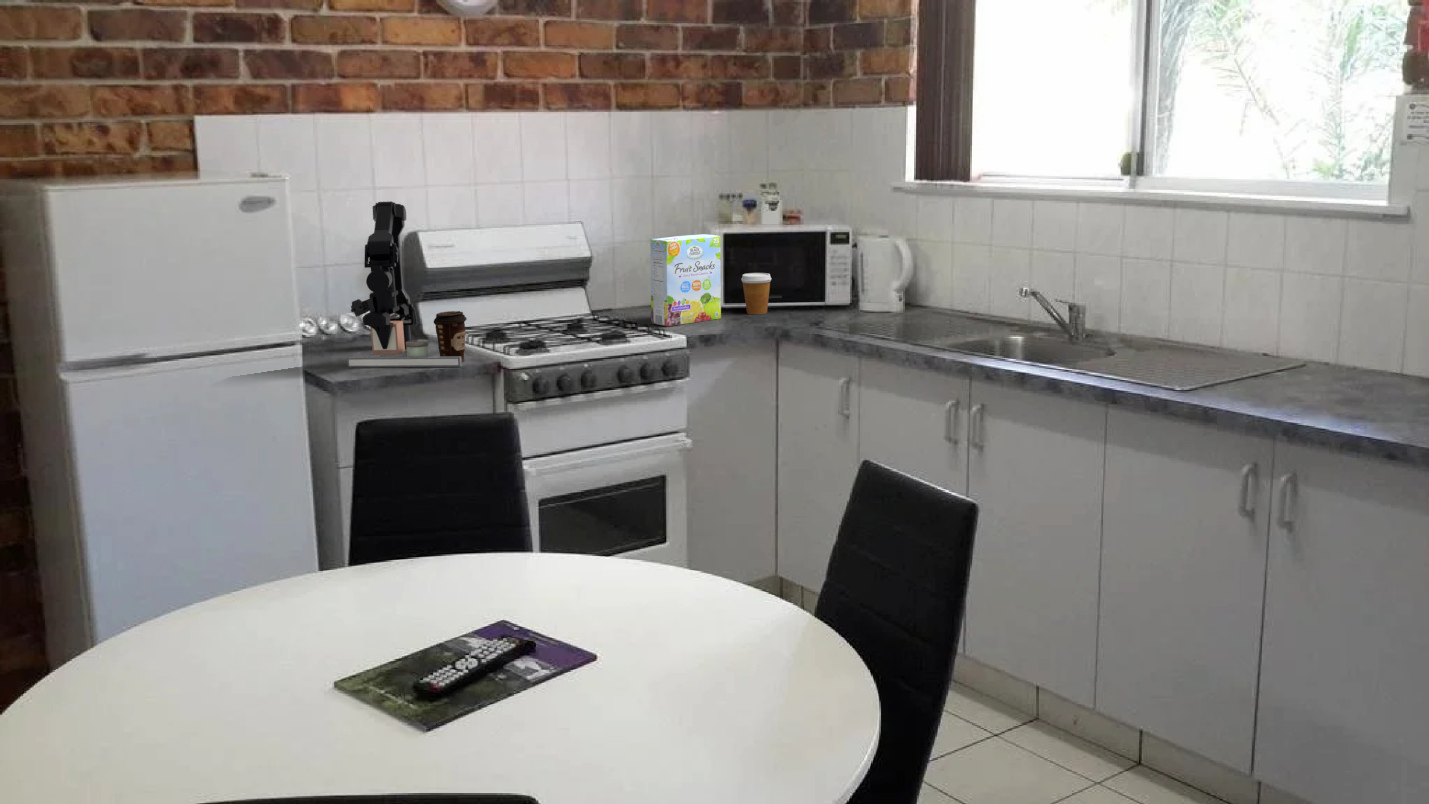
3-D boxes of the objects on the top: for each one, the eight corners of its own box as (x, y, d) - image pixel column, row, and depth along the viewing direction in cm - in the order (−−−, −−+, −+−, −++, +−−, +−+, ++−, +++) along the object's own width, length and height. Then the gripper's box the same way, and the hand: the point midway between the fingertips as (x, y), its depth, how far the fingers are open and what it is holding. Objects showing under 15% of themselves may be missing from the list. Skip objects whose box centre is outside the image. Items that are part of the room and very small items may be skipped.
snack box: (668, 327, 400) (665, 240, 394) (650, 324, 406) (647, 238, 401) (723, 318, 414) (721, 234, 408) (704, 315, 420) (702, 232, 414)
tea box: (379, 350, 357) (376, 321, 355) (405, 350, 356) (402, 320, 354) (372, 354, 352) (369, 324, 350) (398, 354, 351) (396, 324, 349)
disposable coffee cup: (735, 313, 423) (734, 275, 420) (754, 309, 430) (754, 272, 427) (759, 316, 417) (758, 277, 414) (778, 312, 424) (777, 273, 421)
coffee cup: (473, 358, 358) (470, 310, 355) (465, 364, 350) (461, 315, 347) (441, 359, 359) (438, 310, 356) (432, 365, 351) (428, 315, 348)
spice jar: (411, 361, 356) (409, 339, 355) (432, 361, 356) (431, 339, 354) (404, 366, 351) (402, 343, 349) (426, 366, 350) (424, 343, 349)
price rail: (349, 366, 352) (348, 357, 351) (461, 365, 349) (461, 356, 348) (347, 367, 350) (346, 358, 350) (460, 367, 347) (459, 357, 347)
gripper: (366, 283, 360) (371, 340, 363) (340, 293, 342) (345, 353, 345) (407, 282, 359) (411, 340, 362) (383, 292, 341) (387, 353, 344)
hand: (388, 347), depth 354 cm, fingers closed on tea box, 5 cm apart
